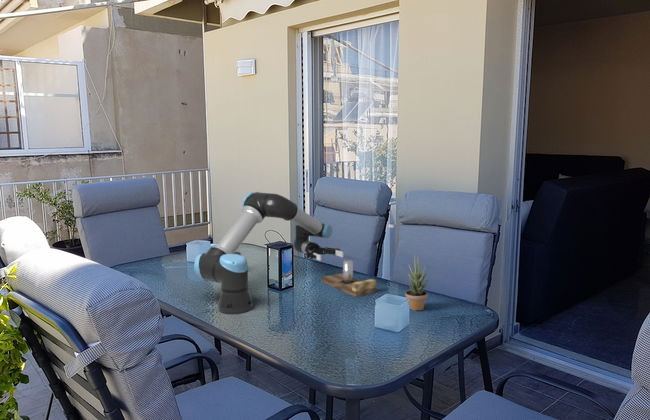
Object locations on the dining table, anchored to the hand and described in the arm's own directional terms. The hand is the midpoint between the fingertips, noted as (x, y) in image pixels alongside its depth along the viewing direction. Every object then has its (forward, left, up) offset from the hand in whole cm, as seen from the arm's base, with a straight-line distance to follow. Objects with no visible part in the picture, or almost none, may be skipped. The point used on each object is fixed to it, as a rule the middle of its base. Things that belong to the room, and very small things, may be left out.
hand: (331, 256), depth 265 cm
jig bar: (+2, -12, -13) cm, 18 cm away
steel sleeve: (+2, -12, -13) cm, 18 cm away
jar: (-37, +40, -14) cm, 56 cm away
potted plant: (+8, -55, -14) cm, 57 cm away
